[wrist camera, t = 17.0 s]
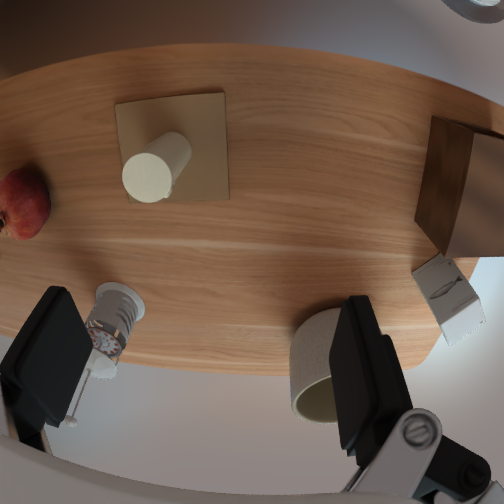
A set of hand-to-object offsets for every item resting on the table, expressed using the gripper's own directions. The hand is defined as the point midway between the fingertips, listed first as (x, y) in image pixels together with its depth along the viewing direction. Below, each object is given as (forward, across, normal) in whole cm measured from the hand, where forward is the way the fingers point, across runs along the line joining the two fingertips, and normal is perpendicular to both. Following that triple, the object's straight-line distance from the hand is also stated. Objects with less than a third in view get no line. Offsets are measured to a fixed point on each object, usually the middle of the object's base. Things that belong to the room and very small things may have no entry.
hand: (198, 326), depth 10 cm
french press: (+31, +23, +30) cm, 48 cm away
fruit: (+31, +33, +7) cm, 46 cm away
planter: (+31, -15, +34) cm, 49 cm away
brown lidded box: (+32, -31, +4) cm, 44 cm away
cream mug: (+30, +9, +2) cm, 32 cm away
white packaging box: (+32, -32, +22) cm, 50 cm away
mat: (+31, +9, +2) cm, 32 cm away
